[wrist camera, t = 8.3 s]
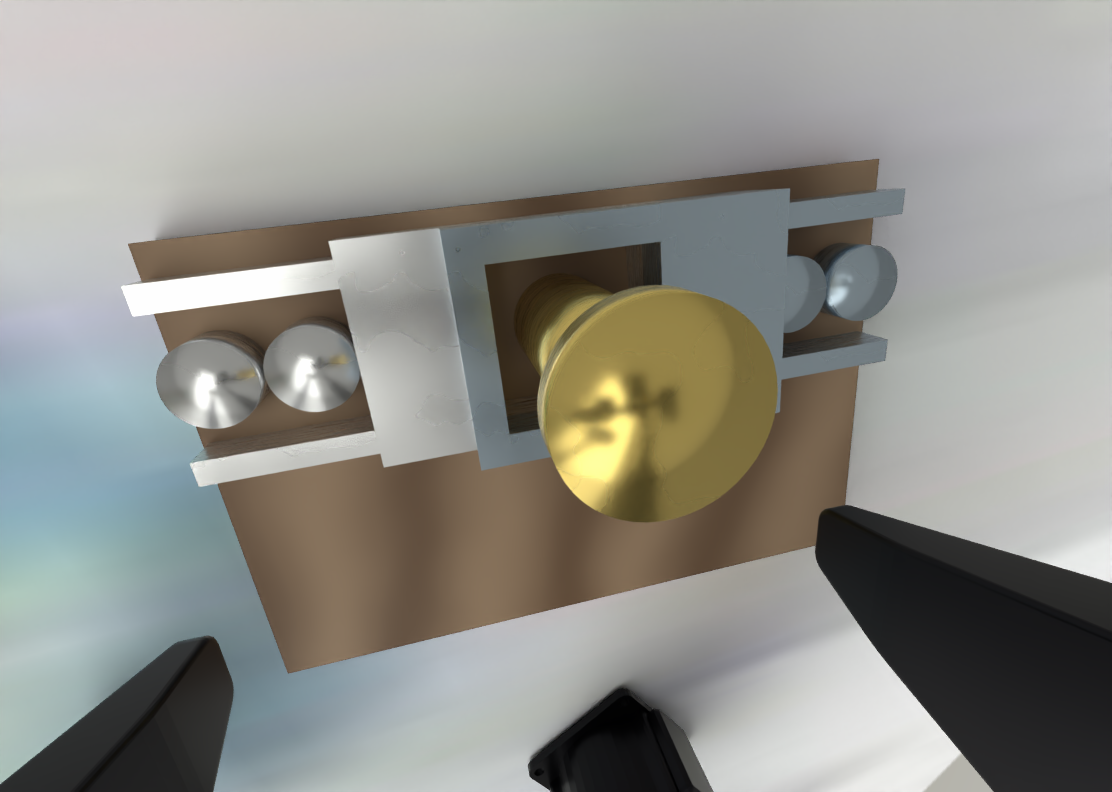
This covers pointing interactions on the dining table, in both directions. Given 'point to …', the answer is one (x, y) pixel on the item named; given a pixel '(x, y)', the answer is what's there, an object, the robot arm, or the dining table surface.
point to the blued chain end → (683, 282)
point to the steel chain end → (330, 357)
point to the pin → (646, 393)
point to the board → (504, 492)
